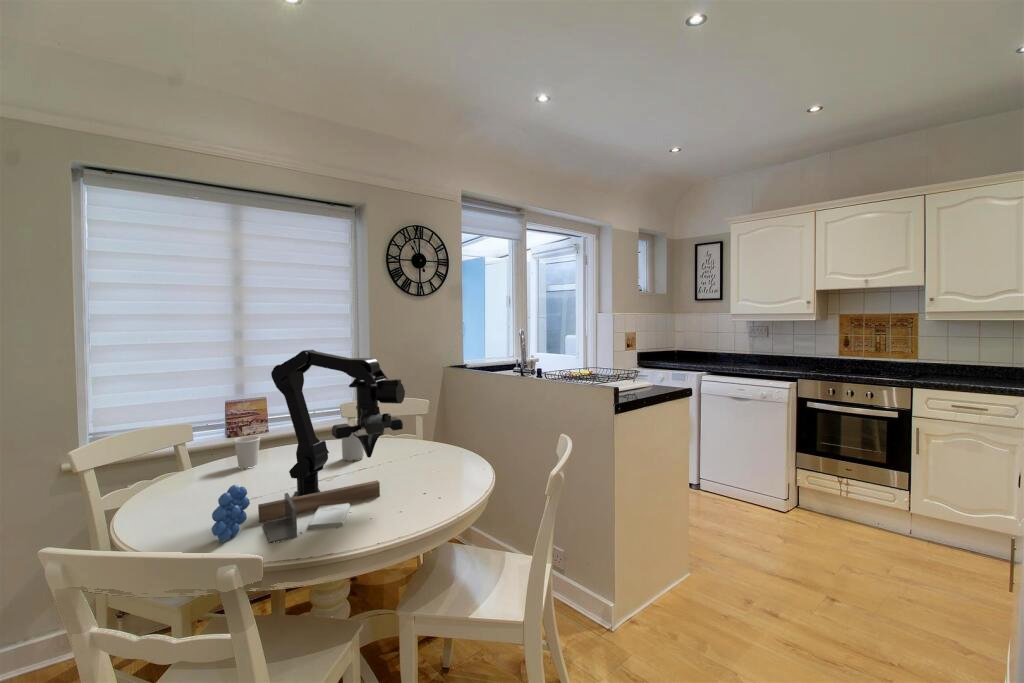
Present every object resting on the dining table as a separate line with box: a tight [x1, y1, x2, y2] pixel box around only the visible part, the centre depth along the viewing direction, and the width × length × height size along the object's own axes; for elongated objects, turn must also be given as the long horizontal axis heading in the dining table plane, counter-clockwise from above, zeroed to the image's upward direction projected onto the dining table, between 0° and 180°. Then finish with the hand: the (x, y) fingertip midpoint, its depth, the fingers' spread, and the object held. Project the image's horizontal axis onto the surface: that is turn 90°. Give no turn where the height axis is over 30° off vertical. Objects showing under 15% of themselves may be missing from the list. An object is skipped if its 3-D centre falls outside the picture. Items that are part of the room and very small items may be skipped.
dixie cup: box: [233, 435, 261, 468], centre depth 166 cm, size 8×8×10 cm
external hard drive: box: [307, 503, 351, 530], centre depth 122 cm, size 2×8×12 cm
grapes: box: [211, 484, 251, 543], centre depth 112 cm, size 12×7×12 cm, turn 175°
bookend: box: [262, 492, 298, 544], centre depth 114 cm, size 12×6×7 cm, turn 34°
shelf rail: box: [257, 480, 381, 523], centre depth 129 cm, size 2×31×4 cm, turn 124°
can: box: [341, 433, 365, 462], centre depth 174 cm, size 8×8×12 cm
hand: (369, 457), depth 134 cm, fingers closed
